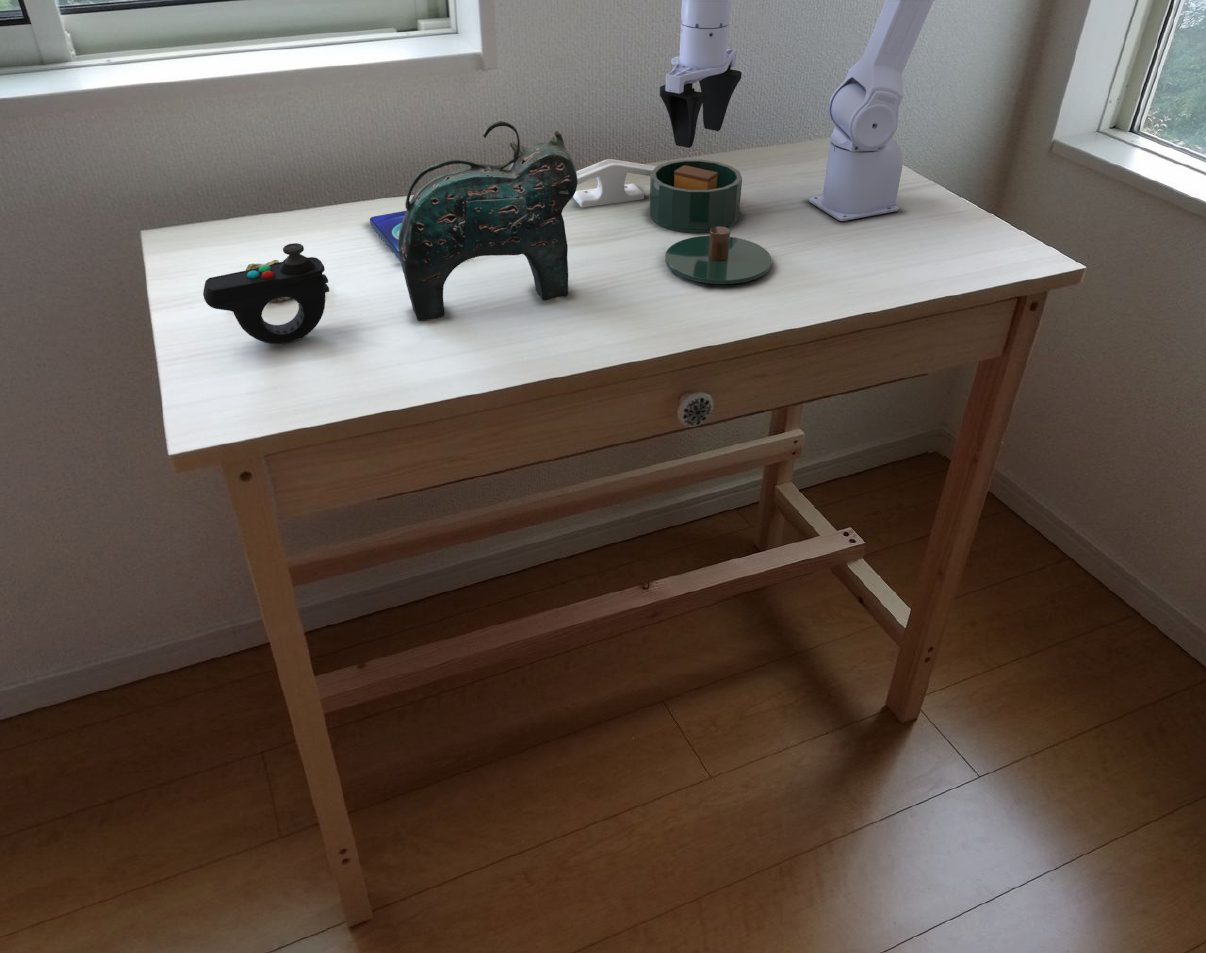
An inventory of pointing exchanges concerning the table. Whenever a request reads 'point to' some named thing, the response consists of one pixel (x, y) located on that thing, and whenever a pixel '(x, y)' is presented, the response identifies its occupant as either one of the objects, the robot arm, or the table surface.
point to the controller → (273, 295)
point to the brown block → (695, 178)
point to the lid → (718, 258)
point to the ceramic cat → (489, 220)
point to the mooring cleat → (610, 182)
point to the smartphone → (389, 229)
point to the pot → (695, 198)
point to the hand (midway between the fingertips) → (698, 137)
